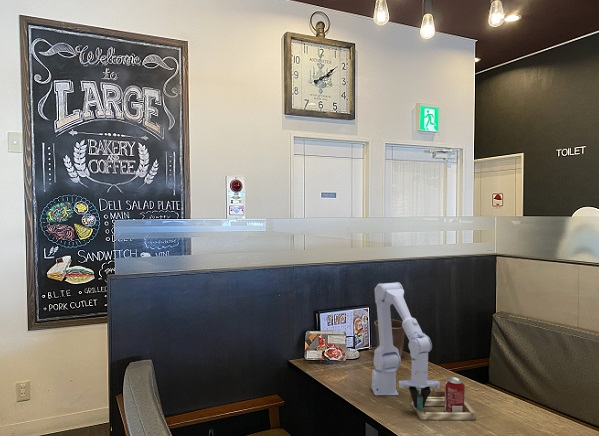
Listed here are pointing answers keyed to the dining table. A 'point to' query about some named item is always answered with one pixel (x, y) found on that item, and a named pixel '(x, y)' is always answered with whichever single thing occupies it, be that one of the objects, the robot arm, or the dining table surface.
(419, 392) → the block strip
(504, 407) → the dining table surface
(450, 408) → the soda can
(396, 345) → the plant pot
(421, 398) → the teal-tipped beige rail
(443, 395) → the walnut block
